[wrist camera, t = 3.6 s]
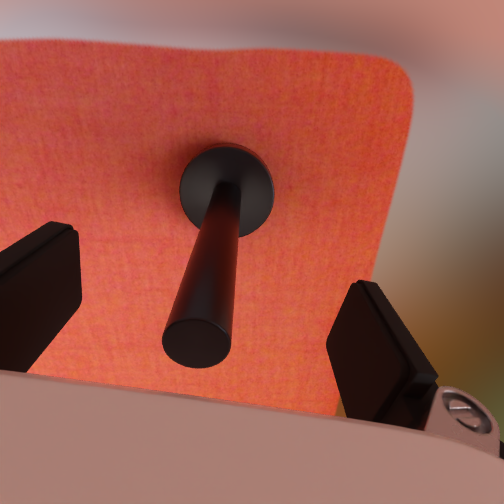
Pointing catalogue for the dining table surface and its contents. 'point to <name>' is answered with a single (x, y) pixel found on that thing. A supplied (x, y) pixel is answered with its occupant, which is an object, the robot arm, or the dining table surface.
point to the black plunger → (215, 249)
